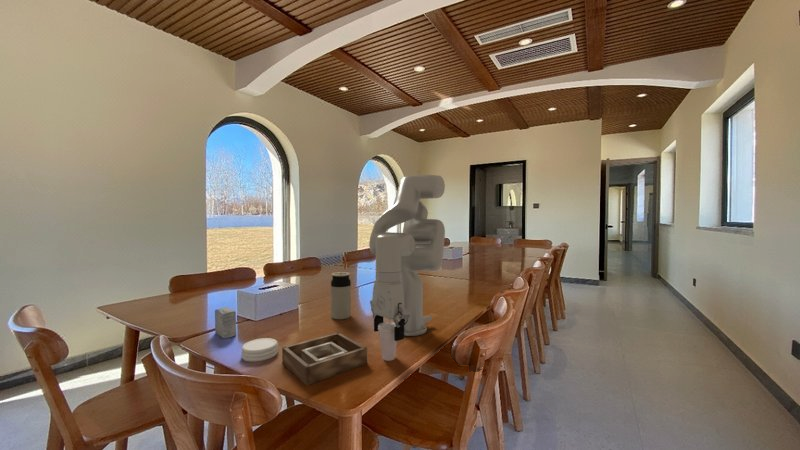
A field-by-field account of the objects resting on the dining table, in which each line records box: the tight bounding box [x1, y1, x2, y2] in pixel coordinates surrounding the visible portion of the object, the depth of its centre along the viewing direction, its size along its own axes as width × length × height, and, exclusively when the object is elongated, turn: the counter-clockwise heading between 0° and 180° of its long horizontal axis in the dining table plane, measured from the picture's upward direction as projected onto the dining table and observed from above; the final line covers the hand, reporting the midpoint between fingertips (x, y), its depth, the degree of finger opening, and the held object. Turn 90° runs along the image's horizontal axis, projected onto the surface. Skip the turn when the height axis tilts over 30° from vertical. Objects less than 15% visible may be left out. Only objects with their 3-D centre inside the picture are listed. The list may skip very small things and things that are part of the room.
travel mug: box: [330, 271, 352, 320], centre depth 133 cm, size 8×8×18 cm
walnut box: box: [281, 331, 368, 386], centre depth 92 cm, size 18×16×4 cm
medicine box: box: [214, 306, 237, 339], centre depth 114 cm, size 8×4×9 cm, turn 47°
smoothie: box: [378, 319, 398, 362], centre depth 95 cm, size 6×6×14 cm
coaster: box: [241, 337, 279, 363], centre depth 97 cm, size 10×10×4 cm
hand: (388, 334), depth 95 cm, fingers open, 9 cm apart
